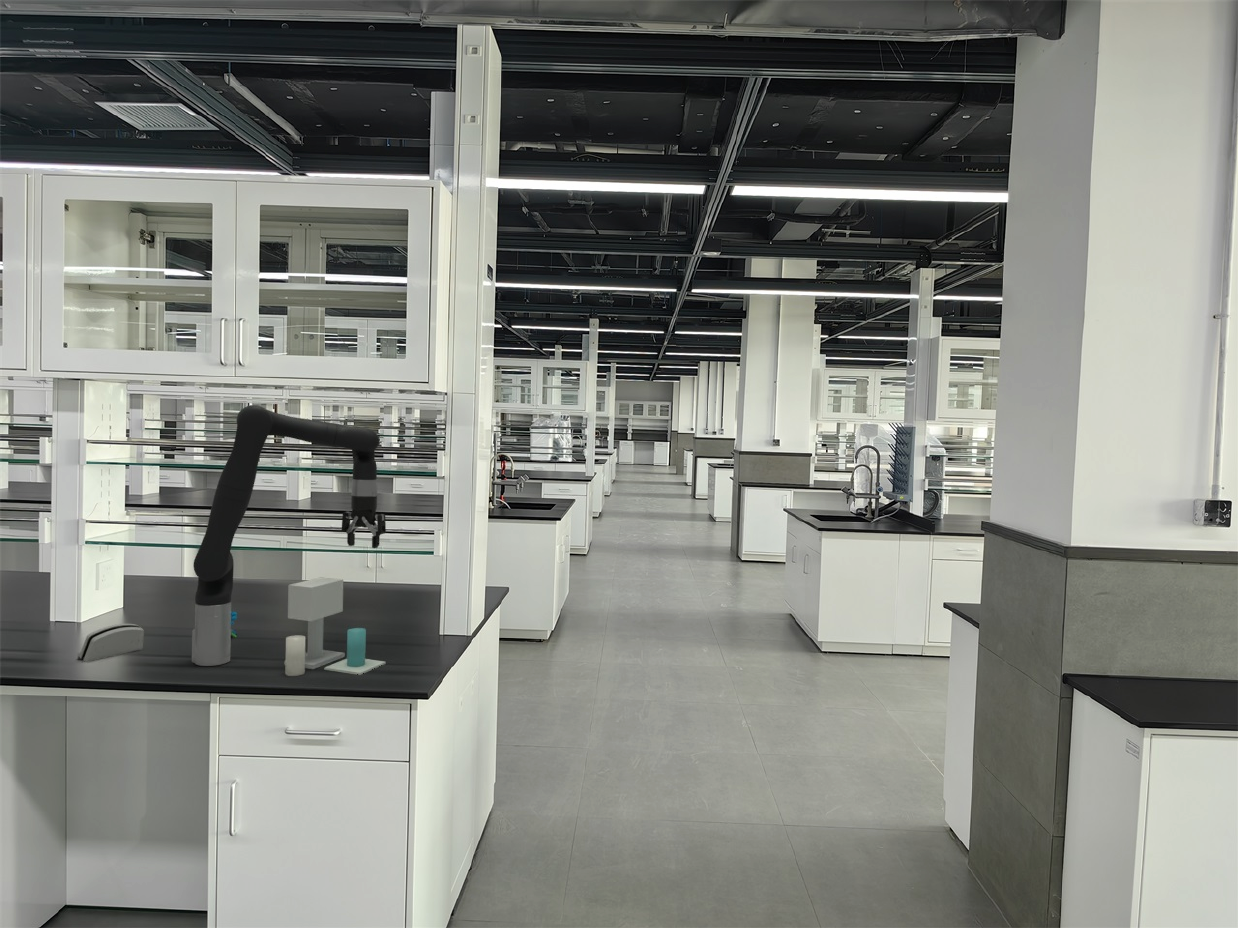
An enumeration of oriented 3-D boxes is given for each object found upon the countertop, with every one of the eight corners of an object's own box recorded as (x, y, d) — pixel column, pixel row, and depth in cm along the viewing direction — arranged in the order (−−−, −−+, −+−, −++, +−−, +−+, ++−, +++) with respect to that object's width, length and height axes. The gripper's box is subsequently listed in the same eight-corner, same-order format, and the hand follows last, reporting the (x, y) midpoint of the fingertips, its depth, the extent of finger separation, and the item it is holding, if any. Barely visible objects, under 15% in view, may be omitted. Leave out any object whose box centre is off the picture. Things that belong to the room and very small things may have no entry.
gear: (206, 628, 264) (231, 605, 267) (220, 639, 267) (244, 616, 270) (211, 640, 255) (237, 617, 258) (225, 651, 258) (250, 628, 261)
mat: (324, 669, 230) (324, 667, 230) (350, 658, 241) (351, 656, 241) (360, 674, 226) (360, 672, 226) (385, 663, 238) (385, 661, 238)
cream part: (281, 674, 224) (281, 638, 224) (293, 669, 229) (294, 634, 229) (296, 676, 223) (296, 640, 222) (308, 671, 228) (309, 636, 227)
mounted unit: (284, 664, 233) (285, 584, 232) (318, 652, 247) (319, 576, 246) (313, 669, 230) (314, 587, 229) (345, 656, 244) (347, 579, 243)
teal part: (343, 665, 233) (343, 630, 232) (354, 661, 237) (355, 627, 237) (357, 667, 231) (358, 632, 230) (368, 663, 235) (369, 629, 235)
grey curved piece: (132, 646, 247) (140, 617, 245) (141, 653, 245) (149, 624, 243) (75, 659, 232) (82, 628, 230) (84, 667, 230) (91, 636, 228)
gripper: (336, 493, 248) (335, 546, 248) (376, 496, 243) (375, 550, 244) (352, 492, 255) (351, 543, 255) (391, 494, 250) (390, 547, 251)
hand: (363, 546), depth 250 cm, fingers open, 8 cm apart
